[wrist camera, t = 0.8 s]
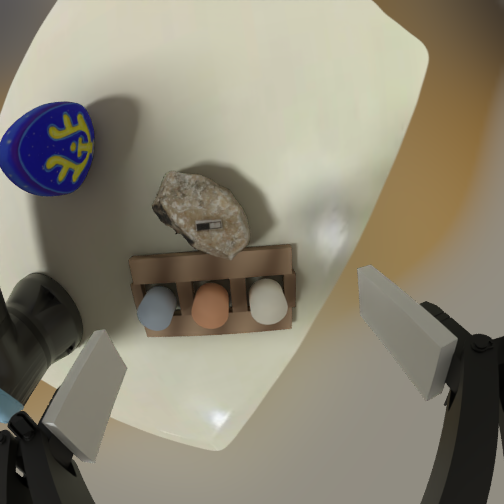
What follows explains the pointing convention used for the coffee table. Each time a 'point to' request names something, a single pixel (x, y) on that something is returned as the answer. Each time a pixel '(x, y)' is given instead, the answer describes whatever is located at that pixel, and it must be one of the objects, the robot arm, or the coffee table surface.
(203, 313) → the button terracotta
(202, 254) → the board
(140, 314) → the button slate
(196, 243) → the stone
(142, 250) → the coffee table surface
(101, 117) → the coffee table surface
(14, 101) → the coffee table surface
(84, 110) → the ornament
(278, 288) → the button cream
